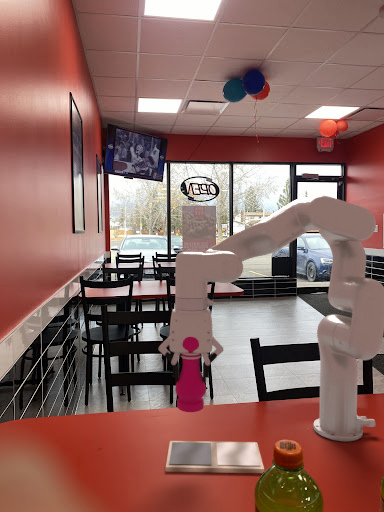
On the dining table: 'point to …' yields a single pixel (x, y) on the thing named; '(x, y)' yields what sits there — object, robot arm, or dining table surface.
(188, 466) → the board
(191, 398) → the pepper mill
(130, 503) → the dining table surface
